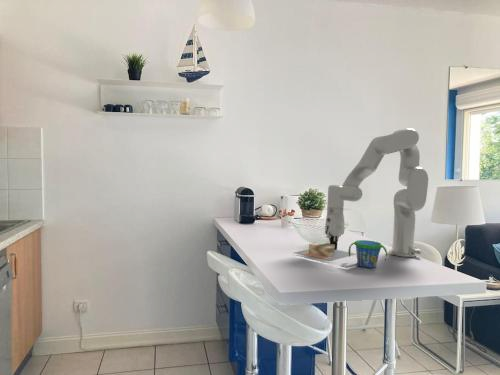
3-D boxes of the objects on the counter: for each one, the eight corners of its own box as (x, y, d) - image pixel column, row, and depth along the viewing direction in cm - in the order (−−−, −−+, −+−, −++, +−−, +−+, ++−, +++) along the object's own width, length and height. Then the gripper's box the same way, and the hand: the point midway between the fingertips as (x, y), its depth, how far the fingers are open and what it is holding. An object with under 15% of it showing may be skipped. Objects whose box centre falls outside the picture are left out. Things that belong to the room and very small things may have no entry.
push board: (357, 255, 188) (357, 254, 188) (329, 263, 172) (329, 261, 172) (321, 248, 203) (321, 246, 203) (292, 254, 186) (292, 252, 186)
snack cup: (388, 266, 170) (389, 242, 169) (383, 272, 161) (384, 247, 160) (351, 261, 178) (353, 238, 177) (344, 266, 168) (346, 241, 168)
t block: (340, 254, 187) (341, 245, 186) (328, 257, 180) (329, 248, 179) (321, 250, 194) (321, 241, 194) (308, 252, 187) (309, 244, 187)
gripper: (332, 213, 183) (330, 252, 184) (350, 211, 194) (348, 248, 195) (319, 211, 188) (317, 249, 190) (337, 209, 199) (335, 246, 200)
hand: (333, 249), depth 192 cm, fingers closed
